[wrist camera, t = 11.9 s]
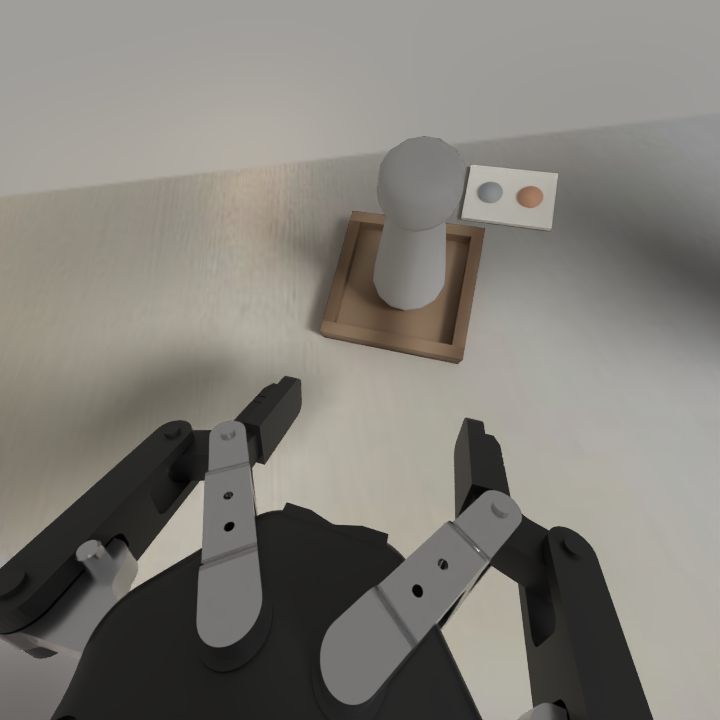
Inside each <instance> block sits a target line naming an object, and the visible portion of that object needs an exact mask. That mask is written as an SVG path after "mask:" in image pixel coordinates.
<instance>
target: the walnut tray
mask: <svg viewBox="0 0 720 720" xmlns="http://www.w3.org/2000/svg"><path fill="white" fill-rule="evenodd" d="M385 218H386V217H385V215H381V214H373V213H366V212H358V211H352V214H351V218H350V222H349V225H348V229H347V233H346V236H345V240H344V244H343V247H342V251H341V255H340V259H339V262H338V266H337V270H336V273H335V277H334V281H333V284H332V288H331V292H330V295H329V299H328V303H327V306H326V310H325V314H324V317H323V321H322V325H321V328H320V332H321V333H322V335H323V336H324V337H326V338H331V339H336V340H341V341H346V342H351V343H356V344H361V345H366V346H371V347H375V348H380V349H385V350H390V351H395V352H400V353H405V354H410V355H415V356H420V357H425V358H430V359H435V360H440V361H445V362H450V363H455V364H458V363H459V362H460V361H462V360H463V355H464V349H465V343H466V337H467V331H468V325H469V319H470V314H471V308H472V302H473V296H474V290H475V284H476V278H477V272H478V267H479V261H480V255H481V249H482V243H483V237H484V231H485V228H480V227H472V226H464V225H457V224H449V223H446V270H445V284H444V286H443V288H442V289H441V291H440V293H439V294H438V296H437V298H436V299H435V300H434V301H433V302H431V303H429V304H428V305H426V306H425V307H423V308H421V309H414V310H407V311H404V310H401V309H398V308H394V307H391V306H390V305H388V304H387V303H386V302H385V301H384V300H383V299H382V298H380V297H379V294H378V292H377V289H376V287H375V284H374V282H373V277H374V267H375V262H376V258H377V253H378V249H379V245H380V240H381V236H382V231H383V227H384V223H385Z"/></svg>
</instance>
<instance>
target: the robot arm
mask: <svg viewBox="0 0 720 720" xmlns="http://www.w3.org/2000/svg"><path fill="white" fill-rule="evenodd" d="M301 404H302V398H301V380H300V379H297V378H293V377H288V376H284V377H283V378H282V379H281V381H280V382H279V383H278V384H274V383H273V384H271V385H269V386H267V387H265V388H264V389H263V390H262V391H261V392H260V393H259V394H258V396H256V397H255V398H254V399H253V401H252V402H251V403H250V404H249V405H248V406H247V407H246V408H245V409H244V410H243V411H242V412H241V413H240V414H239V415H238V416H237V418H236V419H235V420H234V421H227V422H223V423H221V424H219V425H217V426H216V427H214V428H213V429H212V430H192V427H191V425H190V423H188V422H186V421H182V420H178V421H172V422H169V423H166V424H164V425H162V426H161V427H159V428H158V429H157V430H156V431H154V432H153V433H152V434H151V435H150V436H149V437H148V438H147V439H145V440H144V441H143V442H142V443H141V444H140V445H139V446H138V447H136V448H135V449H134V450H133V451H132V452H131V453H130V454H129V455H127V456H126V457H125V458H124V459H123V460H122V461H121V462H120V463H118V464H117V465H116V466H115V467H114V468H113V469H112V470H111V471H109V472H108V473H107V474H106V475H105V476H104V477H103V478H102V479H100V480H99V481H98V482H97V483H96V484H95V485H94V486H93V487H91V488H90V489H89V490H88V491H87V492H86V493H85V494H84V495H82V496H81V497H80V498H79V499H78V500H77V501H76V502H75V503H73V504H72V505H71V506H70V507H69V508H68V509H67V510H66V511H64V512H63V513H62V514H61V515H60V516H59V517H58V518H57V519H55V520H54V521H53V522H52V523H51V524H50V525H49V526H48V527H46V528H45V529H44V530H43V531H42V532H41V533H40V534H39V535H37V536H36V537H35V538H34V539H33V540H32V541H31V542H30V543H28V544H27V545H26V546H25V547H24V548H23V549H22V550H21V551H19V552H18V553H17V554H16V555H15V556H14V557H13V558H12V559H10V560H9V561H8V562H7V563H6V564H5V565H4V566H3V567H1V569H0V639H1V640H3V641H5V642H6V643H8V644H9V645H11V646H12V647H14V648H16V649H18V650H23V651H25V652H26V653H28V654H29V655H31V656H33V657H35V658H39V659H42V658H47V657H51V656H53V655H55V654H57V653H61V654H64V655H67V656H70V657H73V658H75V659H78V660H80V661H79V663H78V666H77V668H76V671H75V674H74V676H73V678H72V680H71V682H70V685H69V687H68V689H67V691H66V693H65V695H64V696H63V699H62V700H61V702H60V704H59V706H58V707H57V709H56V711H55V713H54V714H53V716H52V718H51V720H482V718H481V715H480V713H479V711H478V709H477V707H476V705H475V703H474V700H473V698H472V696H471V694H470V692H469V690H468V688H467V685H466V683H465V681H464V679H463V677H462V675H461V673H460V670H459V668H458V666H457V664H456V662H455V660H454V658H453V655H452V653H451V651H450V649H449V647H448V645H447V643H446V640H445V638H444V636H443V634H442V632H441V630H442V629H443V628H444V626H445V625H446V624H447V623H448V621H449V620H450V619H451V618H452V616H453V615H454V614H455V612H456V611H457V610H458V608H459V607H460V606H461V604H462V603H463V602H464V600H465V599H466V598H467V596H468V595H469V594H470V593H471V591H472V590H473V589H474V588H475V586H476V585H477V584H478V583H479V582H480V580H481V579H482V578H483V577H484V575H485V574H486V573H487V572H488V570H489V569H490V568H491V567H492V566H493V567H494V568H496V569H497V570H499V571H500V572H502V573H503V574H505V575H506V576H508V577H509V578H511V579H512V580H514V581H516V582H517V583H518V587H519V595H520V603H521V611H522V620H523V628H524V636H525V645H526V653H527V661H528V669H529V678H530V686H531V694H532V702H533V709H531V710H529V711H528V712H526V713H524V714H523V715H521V716H520V717H519V718H518V720H653V717H652V714H651V712H650V709H649V706H648V703H647V700H646V697H645V694H644V691H643V688H642V686H641V683H640V680H639V677H638V674H637V671H636V668H635V665H634V662H633V660H632V657H631V654H630V651H629V648H628V645H627V642H626V639H625V636H624V634H623V631H622V628H621V625H620V622H619V619H618V616H617V613H616V610H615V608H614V605H613V602H612V599H611V596H610V593H609V590H608V587H607V585H606V582H605V579H604V576H603V573H602V570H601V567H600V564H599V561H598V559H597V556H596V553H595V552H594V550H593V548H592V547H591V545H590V544H589V543H588V542H587V541H586V540H585V539H584V538H583V537H582V536H580V535H579V534H578V533H576V532H575V531H573V530H571V529H568V528H566V527H561V526H557V527H553V528H552V529H550V531H549V530H547V529H545V528H543V527H542V526H540V525H538V524H536V523H534V522H533V521H531V520H529V519H528V518H526V517H525V516H524V515H523V514H522V513H521V510H520V508H519V506H518V505H517V504H516V502H515V501H514V500H513V499H512V498H511V497H510V492H509V487H508V482H507V477H506V472H505V467H504V462H503V457H502V452H501V447H500V445H499V443H498V442H497V440H496V439H495V437H494V436H493V435H488V434H485V430H484V423H483V421H479V420H474V419H470V418H465V419H464V421H463V424H462V427H461V430H460V432H459V435H458V438H457V441H456V444H455V450H454V473H455V521H453V522H451V521H448V522H446V523H445V524H444V525H443V526H442V527H441V528H440V529H438V530H437V531H436V532H435V533H434V534H433V535H432V536H431V537H430V538H429V539H428V540H427V541H425V542H424V543H423V544H422V545H421V546H420V547H419V548H418V549H417V550H416V551H415V552H414V553H413V554H411V555H410V556H409V557H408V558H407V559H405V558H404V557H403V556H402V555H401V554H400V553H399V552H398V551H397V550H396V549H395V548H394V547H393V546H391V545H390V544H388V543H387V539H388V534H386V533H383V532H380V531H377V530H374V529H370V528H367V527H364V526H352V525H334V524H332V523H330V522H329V521H327V520H325V519H324V518H322V517H321V516H319V515H318V514H316V513H315V512H313V511H312V510H310V509H306V508H303V507H300V506H297V505H294V504H290V503H286V505H285V507H284V509H283V510H277V511H270V512H266V513H263V514H260V515H258V512H257V505H256V497H255V488H254V480H253V471H252V468H253V466H254V465H255V463H256V462H257V463H261V464H264V465H265V463H266V462H267V461H268V459H269V458H270V456H271V455H272V453H273V452H274V450H275V449H276V447H277V446H278V444H279V443H280V441H281V440H282V438H283V437H284V435H285V434H286V432H287V431H288V429H289V428H290V426H291V425H292V423H293V422H294V420H295V419H296V417H297V416H298V414H299V412H300V409H301ZM204 480H205V487H204V513H203V539H202V548H201V549H199V550H198V551H196V552H194V553H193V554H191V555H189V556H188V557H186V558H184V559H183V560H181V561H179V562H178V563H176V564H174V565H173V566H171V567H169V568H167V569H166V570H164V571H162V572H161V573H159V574H157V575H156V576H154V577H152V578H151V579H149V580H147V581H146V582H144V583H142V584H141V585H139V586H137V587H136V588H134V589H133V590H131V591H130V588H131V585H132V583H133V581H134V580H135V577H136V575H137V572H138V563H137V561H138V559H139V558H140V557H141V556H142V554H143V553H144V552H145V550H146V549H147V548H148V547H149V545H150V544H151V543H152V541H153V540H154V539H155V538H156V536H157V535H158V534H159V533H160V531H161V530H162V529H163V527H164V526H165V525H166V524H167V522H168V521H169V520H170V518H171V517H172V516H173V515H174V513H175V512H176V511H177V509H178V508H179V507H180V506H181V504H182V503H183V502H184V500H185V499H186V498H187V497H188V495H189V494H190V493H191V491H192V490H193V489H194V488H195V486H196V485H197V484H198V483H199V481H204ZM129 591H130V592H129ZM128 592H129V593H128Z"/></svg>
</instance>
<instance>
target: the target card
mask: <svg viewBox="0 0 720 720" xmlns="http://www.w3.org/2000/svg"><path fill="white" fill-rule="evenodd" d="M557 179H558V173H548V172H539V171H529V170H519V169H509V168H499V167H489V166H479V165H471V168H470V173H469V178H468V183H467V189H466V194H465V199H464V204H463V210H462V215H461V220H469V221H476V222H484V223H492V224H500V225H507V226H515V227H523V228H531V229H538V230H546V231H550V230H551V228H552V220H553V212H554V204H555V195H556V187H557Z"/></svg>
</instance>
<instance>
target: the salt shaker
mask: <svg viewBox="0 0 720 720" xmlns="http://www.w3.org/2000/svg"><path fill="white" fill-rule="evenodd" d="M464 175H465V163H464V162H463V160H462V158H461V156H460V154H459V153H458V151H457V150H456V149H455V148H453V147H452V146H450V145H449V144H447V143H446V142H444V141H443V140H441V139H438V138H432V137H426V136H423V137H417V138H412V139H408V140H406V141H404V142H402V143H401V144H399V145H398V146H396V147H394V148H393V149H391V150H390V151H389V153H388V154H387V155H386V157H385V158H384V160H383V161H382V162H381V164H380V169H379V176H378V186H377V195H378V201H379V203H380V206H381V208H382V211H383V213H384V215H385V217H386V218H385V223H384V227H383V231H382V236H381V240H380V245H379V249H378V253H377V258H376V262H375V267H374V277H373V282H374V284H375V287H376V289H377V292H378V294H379V297H380V298H382V299H383V300H384V301H385V302H386V303H387V304H388V305H390V306H391V307H394V308H398V309H401V310H404V311H407V310H414V309H421V308H423V307H425V306H426V305H428V304H429V303H431V302H433V301H434V300H435V299H436V298H437V296H438V294H439V293H440V291H441V289H442V288H443V286H444V284H445V270H446V220H448V219H449V218H450V216H451V215H452V213H453V212H454V210H455V208H456V207H457V205H458V203H459V202H460V199H461V197H462V194H463V189H464Z"/></svg>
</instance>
